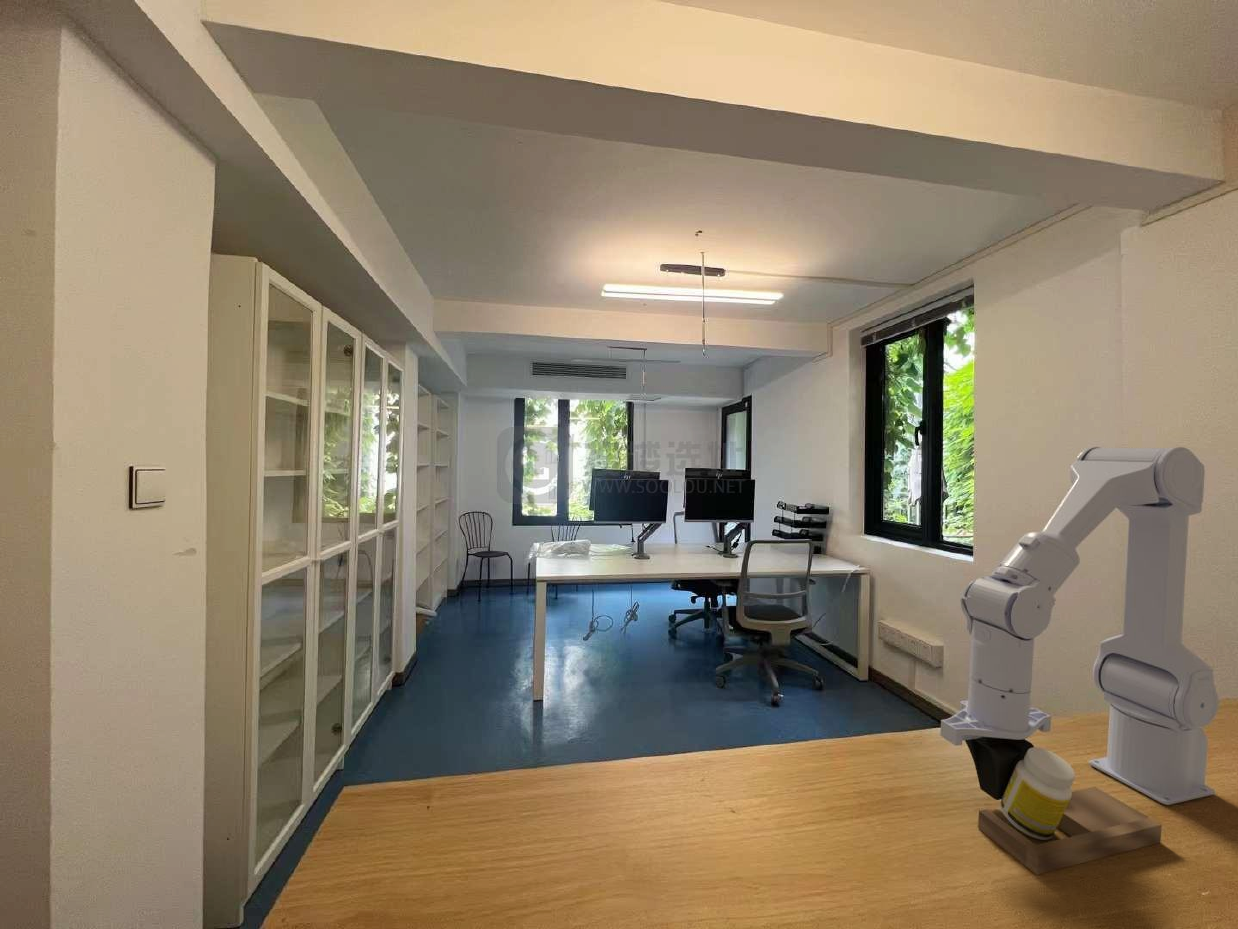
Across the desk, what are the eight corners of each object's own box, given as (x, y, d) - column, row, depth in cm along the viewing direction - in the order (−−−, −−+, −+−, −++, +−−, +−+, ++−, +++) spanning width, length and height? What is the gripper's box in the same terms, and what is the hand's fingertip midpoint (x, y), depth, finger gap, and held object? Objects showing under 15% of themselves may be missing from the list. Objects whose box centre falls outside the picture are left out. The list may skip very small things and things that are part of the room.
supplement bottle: (1063, 846, 51) (1092, 788, 49) (1015, 836, 52) (1042, 778, 50) (1034, 804, 56) (1059, 748, 54) (990, 795, 57) (1013, 740, 54)
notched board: (1093, 803, 58) (1094, 786, 58) (1160, 842, 52) (1161, 824, 52) (977, 828, 53) (978, 811, 53) (1036, 875, 48) (1037, 855, 48)
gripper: (1010, 662, 62) (1004, 764, 63) (920, 671, 59) (914, 779, 59) (1074, 688, 55) (1066, 803, 56) (976, 700, 52) (969, 822, 52)
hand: (992, 793), depth 57 cm, fingers closed
